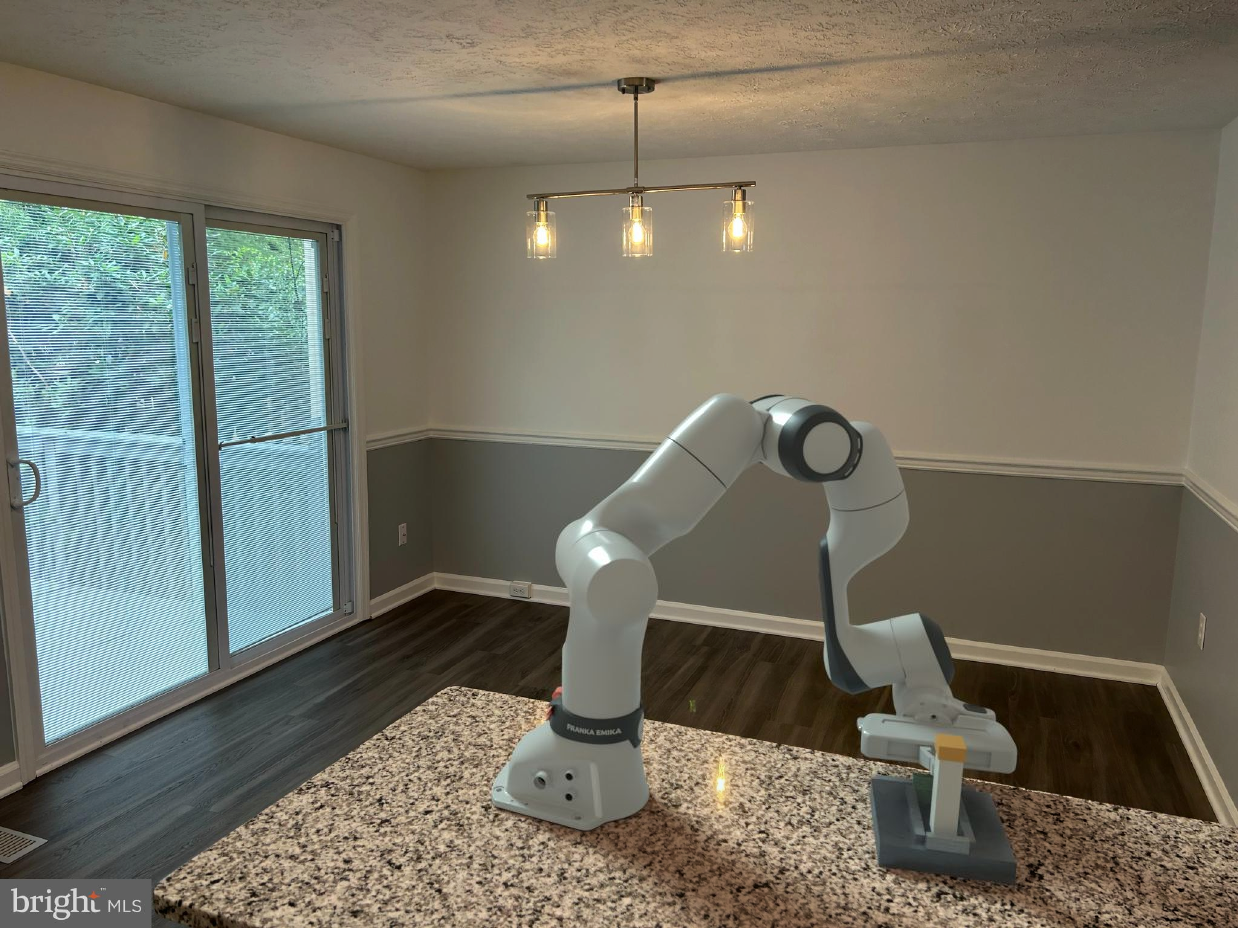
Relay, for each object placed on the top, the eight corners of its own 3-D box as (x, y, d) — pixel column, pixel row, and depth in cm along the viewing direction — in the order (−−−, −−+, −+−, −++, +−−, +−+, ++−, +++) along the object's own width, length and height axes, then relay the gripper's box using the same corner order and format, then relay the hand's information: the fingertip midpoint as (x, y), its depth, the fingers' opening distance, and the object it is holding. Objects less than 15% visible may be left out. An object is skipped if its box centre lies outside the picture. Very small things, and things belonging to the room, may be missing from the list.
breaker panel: (878, 865, 109) (881, 830, 108) (869, 797, 124) (872, 766, 124) (1014, 884, 106) (1018, 849, 105) (988, 812, 121) (991, 780, 120)
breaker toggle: (931, 837, 110) (939, 746, 107) (927, 822, 113) (935, 733, 111) (958, 841, 109) (966, 749, 107) (953, 826, 112) (962, 736, 110)
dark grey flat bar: (876, 796, 125) (877, 788, 125) (874, 781, 129) (875, 774, 128) (979, 809, 122) (980, 801, 122) (974, 794, 126) (975, 786, 126)
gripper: (857, 695, 128) (862, 740, 115) (1005, 711, 124) (1028, 758, 110) (854, 735, 129) (859, 783, 116) (1001, 751, 125) (1024, 804, 112)
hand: (943, 771), depth 113 cm, fingers closed
